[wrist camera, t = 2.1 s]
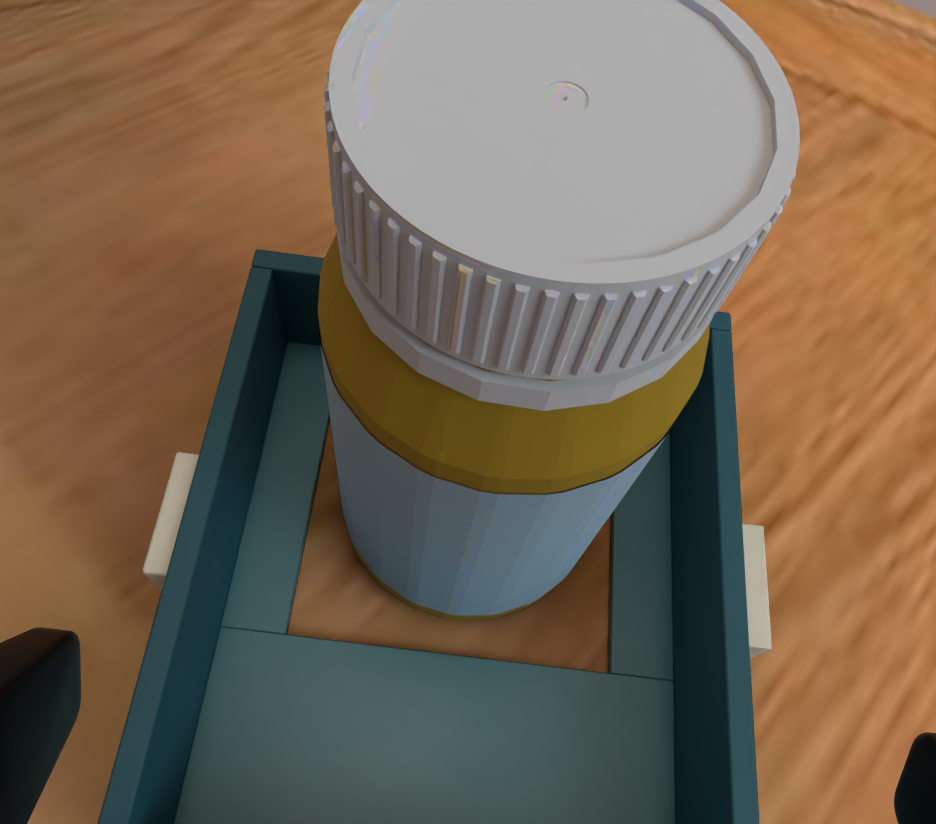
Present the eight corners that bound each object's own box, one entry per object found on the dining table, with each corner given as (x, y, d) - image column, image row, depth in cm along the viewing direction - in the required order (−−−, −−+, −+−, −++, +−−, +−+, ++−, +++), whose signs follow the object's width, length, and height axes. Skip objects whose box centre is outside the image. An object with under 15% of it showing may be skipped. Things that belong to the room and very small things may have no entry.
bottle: (485, 359, 26) (591, -133, 13) (633, 530, 24) (946, 152, 11) (296, 477, 24) (183, 25, 10) (441, 679, 22) (532, 434, 8)
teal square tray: (723, 944, 19) (799, 968, 16) (109, 876, 19) (45, 886, 15) (703, 384, 26) (752, 315, 23) (254, 324, 26) (233, 244, 22)
